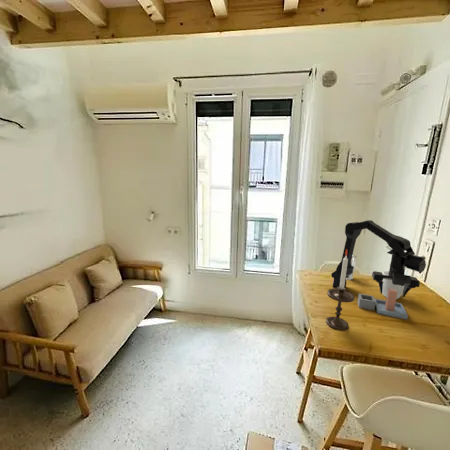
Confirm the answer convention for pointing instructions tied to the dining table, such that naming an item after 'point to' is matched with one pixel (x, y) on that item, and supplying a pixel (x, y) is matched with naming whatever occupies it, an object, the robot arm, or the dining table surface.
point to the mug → (391, 286)
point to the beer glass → (353, 263)
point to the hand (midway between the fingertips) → (391, 295)
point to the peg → (391, 300)
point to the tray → (398, 311)
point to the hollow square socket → (366, 301)
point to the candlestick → (340, 299)
